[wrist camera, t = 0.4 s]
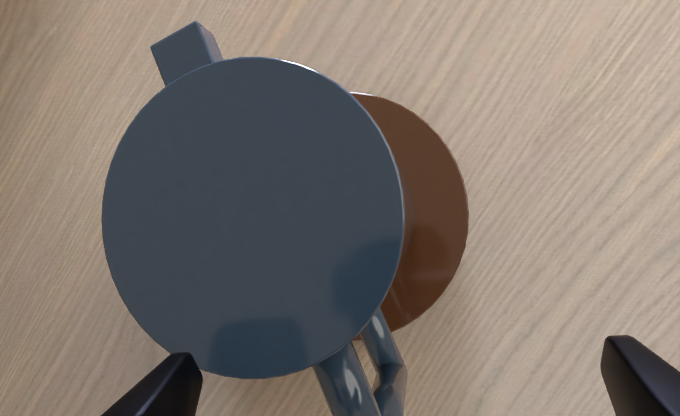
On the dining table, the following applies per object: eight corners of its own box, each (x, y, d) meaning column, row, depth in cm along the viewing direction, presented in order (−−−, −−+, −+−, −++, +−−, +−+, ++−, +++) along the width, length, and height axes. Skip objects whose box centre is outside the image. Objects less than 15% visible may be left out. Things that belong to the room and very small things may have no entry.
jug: (199, 158, 27) (-43, 96, 13) (405, 55, 24) (380, -157, 10) (293, 397, 25) (136, 617, 11) (523, 312, 23) (677, 463, 9)
